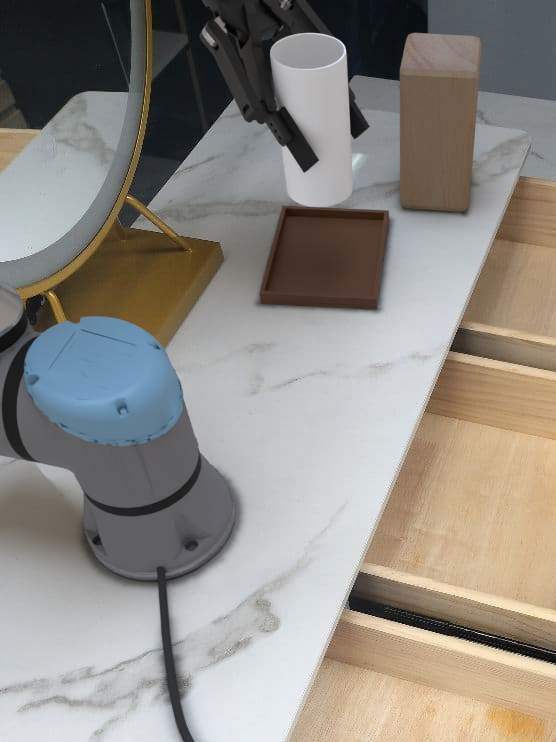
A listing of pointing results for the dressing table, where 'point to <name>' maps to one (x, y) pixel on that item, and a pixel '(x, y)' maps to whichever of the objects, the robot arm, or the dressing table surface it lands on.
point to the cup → (315, 115)
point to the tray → (326, 258)
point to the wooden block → (438, 120)
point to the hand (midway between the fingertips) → (337, 149)
